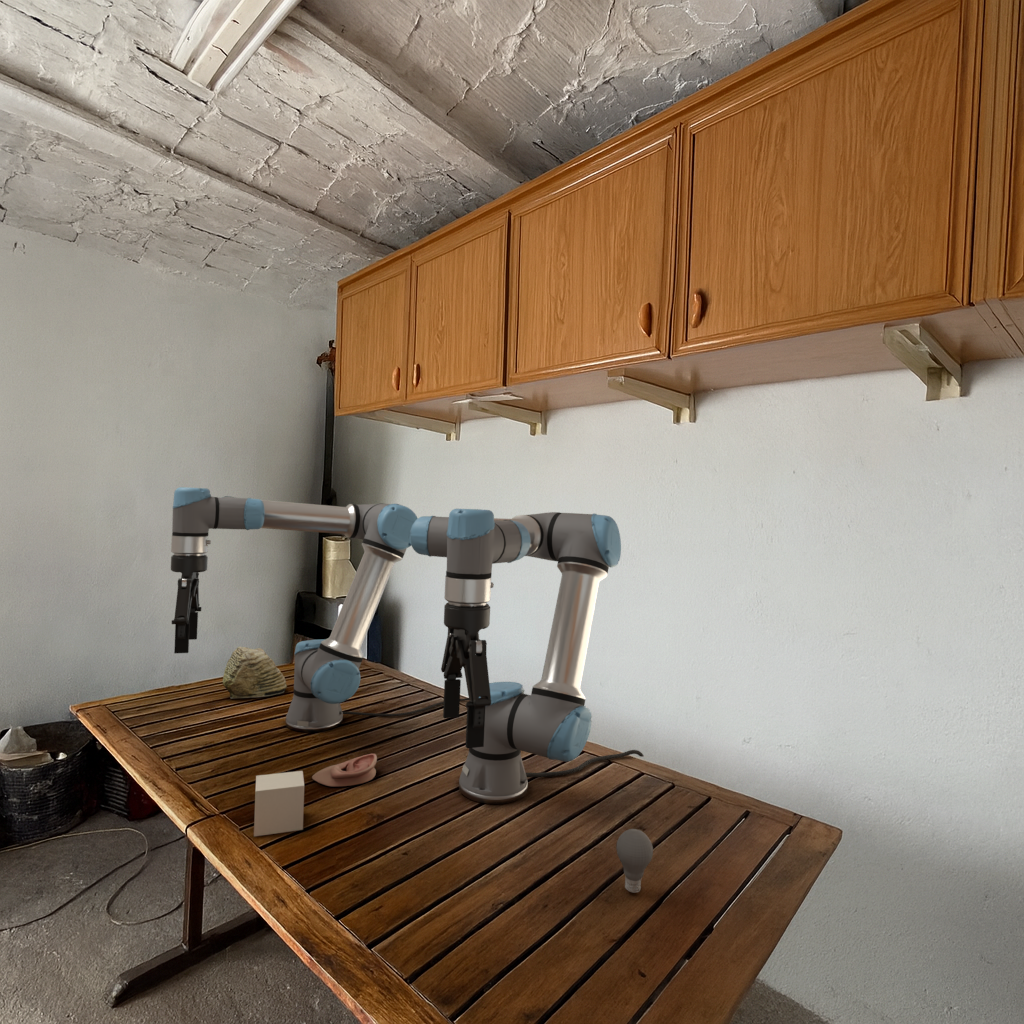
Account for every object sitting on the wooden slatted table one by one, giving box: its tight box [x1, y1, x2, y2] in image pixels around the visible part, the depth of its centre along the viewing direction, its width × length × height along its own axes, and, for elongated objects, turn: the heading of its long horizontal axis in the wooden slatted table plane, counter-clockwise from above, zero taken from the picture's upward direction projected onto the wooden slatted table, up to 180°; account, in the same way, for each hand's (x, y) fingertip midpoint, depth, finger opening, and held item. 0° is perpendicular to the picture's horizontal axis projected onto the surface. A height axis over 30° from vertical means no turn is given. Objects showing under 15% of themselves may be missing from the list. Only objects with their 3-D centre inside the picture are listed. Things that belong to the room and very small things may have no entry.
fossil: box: [222, 646, 288, 699], centre depth 198 cm, size 9×18×15 cm, turn 132°
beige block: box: [253, 770, 305, 837], centre depth 122 cm, size 9×7×8 cm
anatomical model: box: [311, 753, 378, 788], centre depth 144 cm, size 13×4×12 cm
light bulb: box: [615, 828, 654, 894], centre depth 106 cm, size 6×6×10 cm
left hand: (186, 645), depth 146 cm, fingers open, 13 cm apart
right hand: (462, 731), depth 104 cm, fingers open, 13 cm apart
